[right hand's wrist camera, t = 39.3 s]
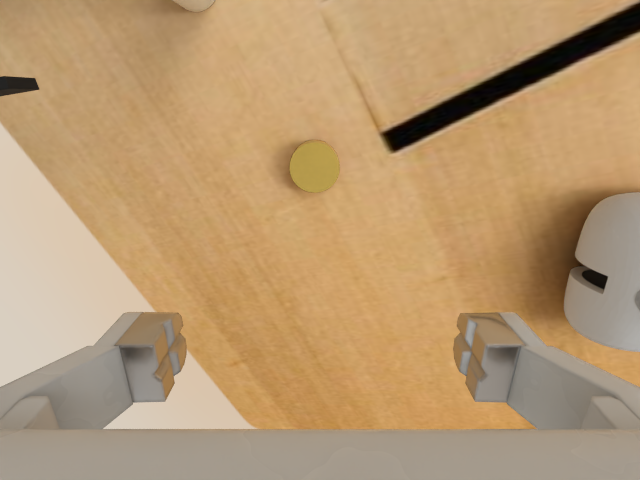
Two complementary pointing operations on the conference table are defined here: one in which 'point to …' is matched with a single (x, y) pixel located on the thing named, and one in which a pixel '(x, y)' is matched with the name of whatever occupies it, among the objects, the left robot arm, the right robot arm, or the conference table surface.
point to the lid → (314, 166)
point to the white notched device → (608, 275)
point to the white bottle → (194, 4)
